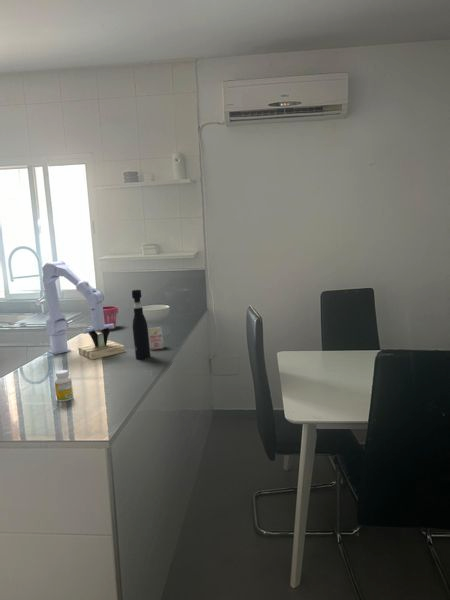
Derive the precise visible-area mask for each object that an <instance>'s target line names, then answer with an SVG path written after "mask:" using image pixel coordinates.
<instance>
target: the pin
mask: <svg viewBox="0 0 450 600" xmlns="http://www.w3.org/2000/svg"><path fill="white" fill-rule="evenodd" d="M97 341H98V347H97V349H98V348H103V347H105V342H104V334H102V333H97Z"/></svg>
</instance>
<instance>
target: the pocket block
mask: <svg viewBox="0 0 450 600" xmlns="http://www.w3.org/2000/svg"><path fill="white" fill-rule="evenodd" d="M77 348H78V354H79V355H81V356H83V357H85V358H88V359H89V360H96V359H100V358H104V357H107V356H112V355H118V354H120V353H125V346H124V344H121V343H117V342H115V341H113V340H107V345H105V347H103V348H98V349H97V347H95V344H94V343H92V344H87V345H83V346H78V347H77Z"/></svg>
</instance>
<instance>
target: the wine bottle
mask: <svg viewBox="0 0 450 600" xmlns="http://www.w3.org/2000/svg"><path fill="white" fill-rule="evenodd" d="M131 296H132V299H133V300H134V303H133V313H134V314H133V319H132V334H133V345H134V353H135V359H136V360H138V361H139V360H140V361H141V360H148V359H150V358H151V357H152V356H151V350H150V346H149V337H148V328H149V326H148V323H147V322H148V321H147V320H146V317H145V315H144V312H143V311H144V309H143V304H142V303H141V302H142V301H141V298H142V291H141V289H134V290H131Z"/></svg>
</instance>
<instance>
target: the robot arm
mask: <svg viewBox="0 0 450 600" xmlns="http://www.w3.org/2000/svg"><path fill="white" fill-rule="evenodd" d="M41 268H42V270H41V271H42V274H43V275H42V283H43V290H44V295H45V300H46V304H47V309H48V316H47V318H46V319H45V322H46V323H45V331H46V332H47V334H48V335H49V345H50V349H49V350H48V352H50V353H52V354H53V355H58V354H63V353H68V352H71V351H72V349H71V348H68V338H67V330H68V328H69V323H68V320H67V319H66V316H65V314H63V313H62V312H61V311H62V310H61V305H60V301H59V300H60V298H59V295H58V288H57V284H56V282H57V280H58V279H59V278H60V277H64V279H66V280H67V281H69V282H70V283H72V284H73V285H74V286H75V289H76V291H77V292H78V293H79V294H81V295H82V296H83V297H84V298H85V301H86V303H87V304H88V307H89V309H90V310H89V311H90V318H91V327H87V328H83V329H82V333H83V334H84V335H85V334H86V335H87V334H88V335H89V336H90V338H91V340H92V342H93V344H95V347H98V341H97V334H98V333H97V332H99V331H100V332H101V334H104V342H105V345H107V341H108V338H109V335H110V332H111V330H109V329H110V328H114V324H106V325H105V323H104V314H103V307H104V306H103V302H104V300H105V295H104V293H103V292H102V291H101V290H97V289H96V288H94V287H93V286H92V285H90V284H89V283H90V282H89V281H86V280H81V279H80V278H79V277H78V276H77V275H76V274H75V273H74V272H73V270H71V269H70V268H69V265H68V264H67V263H66V262H64V261H63V260H58V261H51V262H45V264H44V265H43V266H42V267H41Z"/></svg>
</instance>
